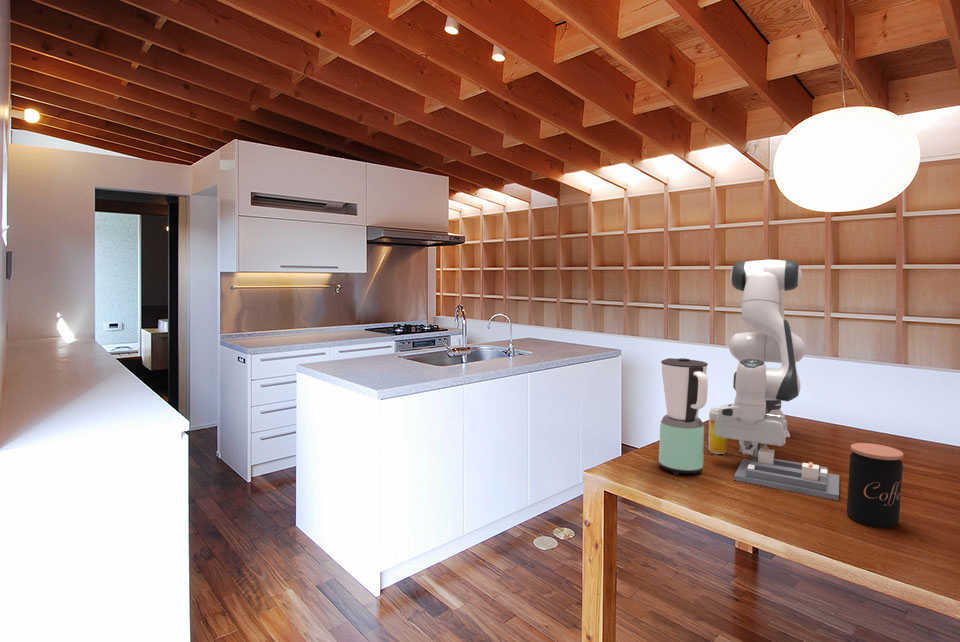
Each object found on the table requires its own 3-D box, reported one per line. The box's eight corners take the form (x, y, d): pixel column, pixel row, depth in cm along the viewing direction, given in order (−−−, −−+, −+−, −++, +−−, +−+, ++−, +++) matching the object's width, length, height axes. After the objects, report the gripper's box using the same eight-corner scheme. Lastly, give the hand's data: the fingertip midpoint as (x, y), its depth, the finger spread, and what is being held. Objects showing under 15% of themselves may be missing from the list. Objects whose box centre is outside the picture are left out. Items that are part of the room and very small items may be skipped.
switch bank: (743, 463, 176) (743, 452, 176) (838, 480, 162) (839, 468, 161) (733, 480, 161) (734, 468, 161) (838, 500, 147) (839, 488, 146)
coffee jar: (860, 528, 131) (865, 455, 129) (837, 509, 141) (841, 441, 140) (909, 530, 129) (914, 457, 128) (882, 511, 140) (886, 443, 138)
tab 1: (759, 463, 171) (760, 446, 170) (773, 465, 168) (774, 448, 168) (757, 467, 167) (758, 449, 167) (772, 469, 165) (773, 451, 165)
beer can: (729, 455, 183) (730, 412, 182) (710, 454, 184) (711, 411, 183) (724, 450, 189) (726, 408, 188) (706, 449, 190) (707, 407, 189)
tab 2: (801, 479, 157) (803, 460, 157) (818, 482, 155) (819, 463, 155) (801, 483, 154) (802, 464, 154) (817, 486, 152) (818, 467, 151)
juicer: (647, 462, 177) (650, 356, 174) (683, 459, 180) (687, 354, 177) (681, 483, 158) (685, 365, 155) (721, 480, 161) (725, 363, 158)
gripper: (788, 414, 166) (786, 458, 167) (717, 405, 177) (715, 446, 179) (786, 418, 161) (784, 463, 162) (713, 409, 172) (711, 451, 173)
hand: (747, 454), depth 170 cm, fingers closed
